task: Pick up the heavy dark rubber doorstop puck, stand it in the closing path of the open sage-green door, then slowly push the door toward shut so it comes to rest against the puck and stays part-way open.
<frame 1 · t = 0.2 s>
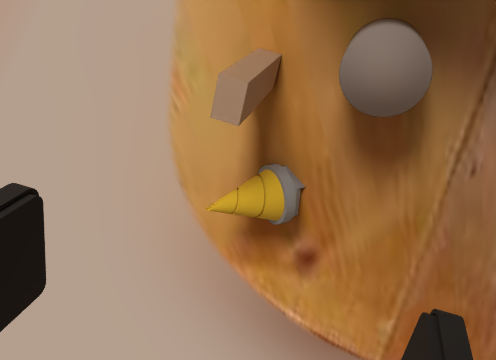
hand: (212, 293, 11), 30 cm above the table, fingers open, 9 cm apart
drill bit: (270, 185, 44), on the table
doorstop: (384, 58, 36), on the table
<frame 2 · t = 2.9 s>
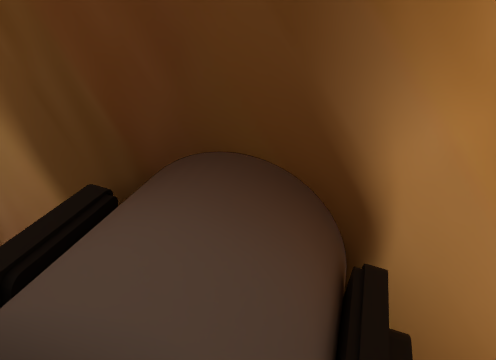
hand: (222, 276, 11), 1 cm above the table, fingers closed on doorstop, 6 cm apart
doorstop: (232, 257, 12), on the table, touching gripper
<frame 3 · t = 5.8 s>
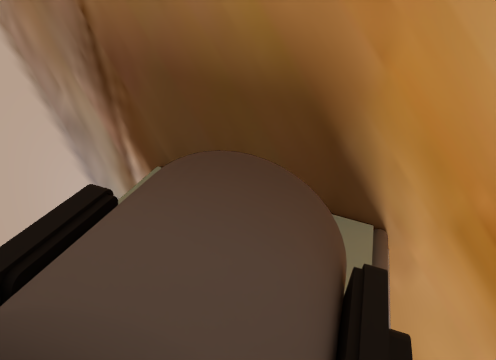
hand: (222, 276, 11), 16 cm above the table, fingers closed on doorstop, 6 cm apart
door: (246, 247, 24), point 5 cm above the table, hinge at 75.0°
doorstop: (232, 256, 12), point 15 cm above the table, touching gripper
when the fingers open (1 cm above the table, at t = 8.8 s): doorstop stays where it is, on the table.
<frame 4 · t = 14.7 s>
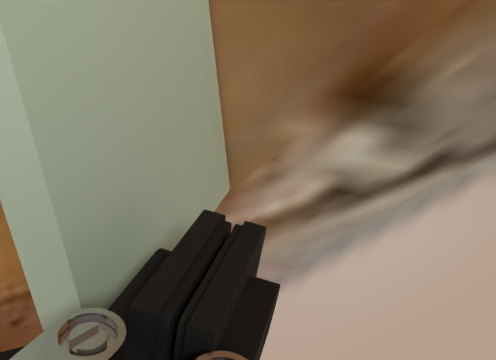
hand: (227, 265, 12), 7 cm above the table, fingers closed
door: (122, 6, 12), point 5 cm above the table, hinge at 73.8°, touching gripper
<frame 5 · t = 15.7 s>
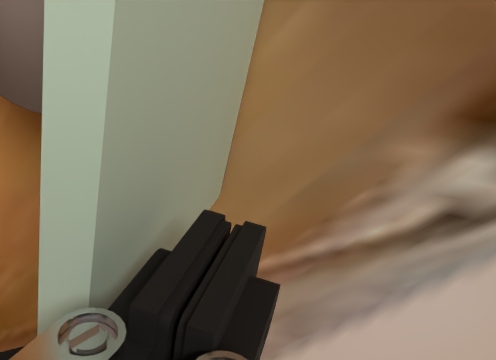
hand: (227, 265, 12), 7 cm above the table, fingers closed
door: (192, 22, 12), point 5 cm above the table, hinge at 55.1°, touching gripper
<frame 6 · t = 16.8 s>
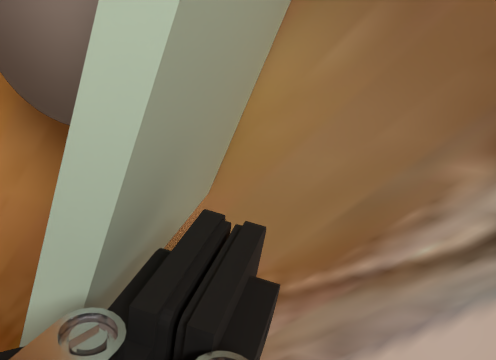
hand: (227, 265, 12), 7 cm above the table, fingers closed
door: (220, 32, 12), point 5 cm above the table, hinge at 44.9°, touching doorstop, gripper
doorstop: (168, 4, 17), on the table, touching door
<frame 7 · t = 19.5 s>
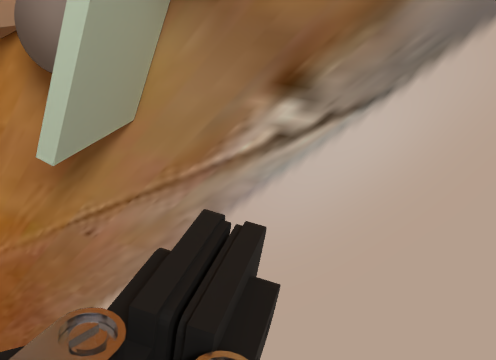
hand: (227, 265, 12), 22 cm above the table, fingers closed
door: (118, 33, 28), point 5 cm above the table, hinge at 44.7°, touching doorstop
doorstop: (107, 19, 34), on the table, touching door
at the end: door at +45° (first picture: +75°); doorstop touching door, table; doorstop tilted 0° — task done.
